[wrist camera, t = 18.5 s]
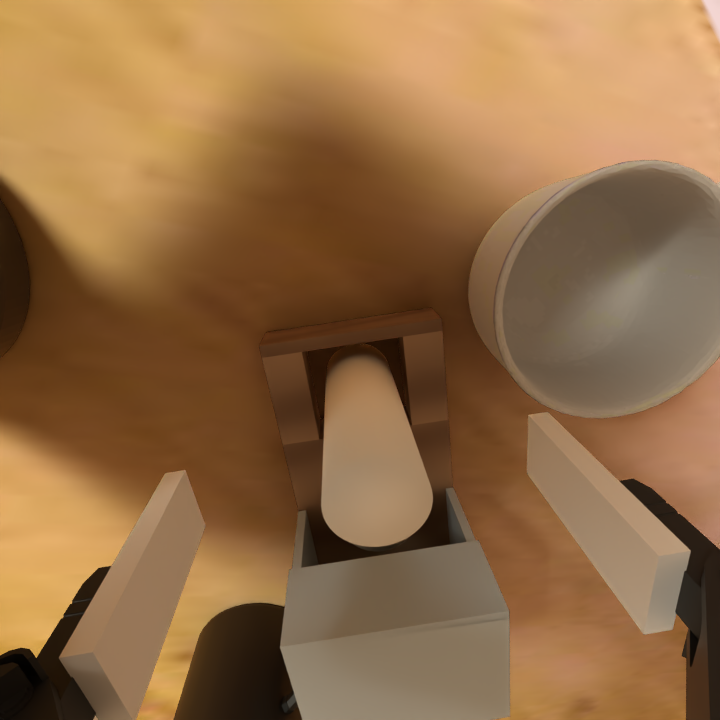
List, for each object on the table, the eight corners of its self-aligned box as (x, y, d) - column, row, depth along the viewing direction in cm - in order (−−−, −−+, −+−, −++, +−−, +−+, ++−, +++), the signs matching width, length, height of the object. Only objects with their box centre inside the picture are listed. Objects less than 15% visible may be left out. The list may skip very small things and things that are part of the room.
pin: (331, 406, 27) (330, 553, 15) (321, 348, 25) (312, 464, 14) (392, 397, 27) (436, 538, 15) (386, 339, 25) (429, 447, 14)
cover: (296, 505, 26) (279, 647, 18) (452, 481, 26) (509, 610, 18) (317, 590, 29) (311, 748, 20) (458, 568, 29) (510, 716, 20)
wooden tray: (265, 332, 24) (246, 370, 19) (431, 307, 25) (460, 338, 19) (321, 572, 32) (318, 652, 26) (449, 553, 32) (475, 627, 26)
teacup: (478, 384, 27) (535, 454, 19) (422, 222, 23) (465, 232, 15) (690, 298, 25) (839, 337, 18) (667, 112, 22) (843, 65, 14)
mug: (360, 619, 34) (370, 758, 25) (265, 694, 36) (245, 843, 28) (271, 562, 31) (248, 697, 22) (175, 648, 33) (122, 797, 25)
